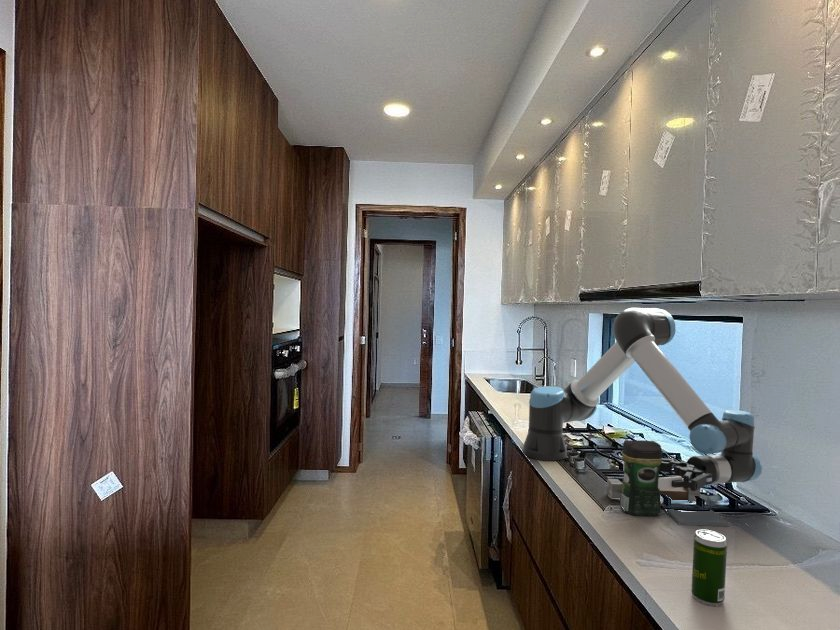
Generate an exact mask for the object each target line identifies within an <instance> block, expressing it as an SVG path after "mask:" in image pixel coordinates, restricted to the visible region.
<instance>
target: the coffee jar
mask: <svg viewBox="0 0 840 630" xmlns="http://www.w3.org/2000/svg"><path fill="white" fill-rule="evenodd" d="M662 451H663V450H662V446H661V444H660V443H658V442H657V441H655V440H637V439H636V440H633V439H632V440H629V439H627V440H626V439H625V440H624V441H623V445H622V451H621V456H622V459H623V463H624V471H623V478H622V491H621V498H620V500H619V505H621V506H622V507H623V508H624V510H625V511H626V513H628V514H629V515H634V516H647V517H648V516H658V515H660V514H661V511H662V508H661V502H660V490H659V489H658V478H660V471H659V468H660V464H661V462H662V458H663V452H662ZM621 506H620V507H621ZM624 510H623V511H624ZM625 511H624V512H625Z"/></svg>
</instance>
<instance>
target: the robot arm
mask: <svg viewBox="0 0 840 630" xmlns="http://www.w3.org/2000/svg"><path fill="white" fill-rule="evenodd" d="M612 324H613V325H612V332H613V336H614V339H615V342H614V343H613V344H612V346H611V347H609V348H608V350H607V351H606V352H605V353H604V354H603V355H602V356H601V357H600V358H599V359H598V360H597V361H596V362H595V363H594V364H593V366H592V367H590V369H589V370H587V371H586V373H585V374H584V375H583V376H582V377H581V378H579V379H574V380H572V381H571V382H570V383H569V384H568V385H567V386H566V387H565V388H564V389H563V388H562V387H559V386H553V385H552V386H551V385H549V386H540V387H536V388H534V389H532V390H531V391H530V396H529V397H530V398H529V402H528V403H529V406H528V407H529V409H528V432H527V435H526V436H525V440H524V443H523V446H522V454H523V455H524V456H526V457H528V458H531V459H534V460H541V461H550V462H551V461H553V462H554V461H561V460H565V459H566V458H567V457H566V456H568V451H567V450H568V449H567V445H566V442H565V439H564V434H563V428H564V424H566V423H571V422H581V421H585V420H587V419H590V418H591V417H593V416H594V414H595V413H596V412H597V409H598V408H597V405H598V404H599V402H600V396H601V395H602V394H603V393H604V392H605V391H606V390H607V389H608V388H609V387H610V386H611V385H612V384H613V383H614V382H615V381H616V380H617V379H619V378H620V376H622V375H623V374H624V373H625V372H626V371H627V370H628V369H629V368H630V367H631V366H632V365H633V364H634V363H636V364H637V365H638V367H639V368H640V369H641V370H642V372H643V373H644V374H645V375H646V377H647V378H648V380H649V381H650V382H651V383H652V385H653V386H654V387H655V388H656V389H657V391H658V392H659V393H660V394H661V397H663V398H664V399H665V402H667V404H668V405H669V406H670V407H671V409H672V410H673V411H674V412H675V414H676V415H677V416H678V418H679V419H680V420H681V421H682V423H683V424H684V425H685V427H686V428H687V429H688V430H689V435H688V437H689V441H690V444H691V446H692V448H693V449H694V450H696V451H697V452H699V453H701V454H705V455H694V456H691V457H689V458H688V459H687V461H677V459H676V458H663V457H662V462H661V464H660V468H659V472H665V473H668V474H669V475H671V476H662V477H660V476H659V478H658V489H671V488H682V487H683V488H685V489H688V488H691V490H692V491H696V490H698V489H700V490H701V489H703V488H704V487H705V486H708V485H713V486H717V485H718V484H727V483H729V484H730V483H746V482H752V481H754V480H757V479H759V478H760V476H761V474H762V472H763V471H762V470H763V468H762V467H763V466H762V464H761V461H760V459H759V458H758V456H756V455H755V454H754V453H753V449H754V436H755V435H754V434H755V429H756V428H755V427H756V426H755V416H754V415H753V414H752V413H751V412H748V411H744V410H739V409H726V410H724V411H723V413H722V417H721V420H719V419H718V418H717V417H716V415H715V414H714V413H713V412H712V411H711V409H710V408H709V407H708V406H707V404H706V403H704V400H702V399H701V398H700V396H699V395H698V394H697V392H696V391H695V390H694V389H693V387H692V386H691V385H690V384H689V382H687V381H686V379H685V378H684V376H683V375H682V374H681V373H680V372H679V370H678V369H677V368H676V367H675V366H674V365H673V363H672V362H671V361H670V359H669V358H668V357H667V356H666V355H665V354H664V352H663V351H662V350H661V349H660V347H659V346H664V345H666V344H668V343H670V342H671V341H673V339H674V338H675V334H676V322H675V319H674V318H673V316H672V315H671V314H670V313H669V312H668V311H667V310H665V309H661V308H657V307H651V308H649V307H647V308H646V307H645V308H643V307H642V308H641V307H630V308H627V309H626V308H625V309H624V310H623V311H620V312H619V314H617V315H616V317H615V318H614V321H613V323H612ZM718 453H720V454H718ZM622 466H623V467H622V468H623V469H622V471H623V472H624V462H623V465H622Z"/></svg>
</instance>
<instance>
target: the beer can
mask: <svg viewBox="0 0 840 630" xmlns="http://www.w3.org/2000/svg"><path fill="white" fill-rule="evenodd" d="M727 550H728V542H727V538H726V536H725V535H723V534H722V533H720V532H717V531H714V530H709V529H697V530H696V531H695V535H694V536H693V551H692V552H693V553H692V554H693V555H692V556H693V557H692V573H691V590H690V591H691V594H692V597H693V598H694V599H695V601H697V602H698V601H699V603H700V602H701V604H702V603H703V605H705V604H706V605H705V606H709V605H711V606H710V607H717V606H716V605H720V606H721V605H722V604H723V602H724V600H725V590H726V575H727V574H726V573H727V571H726V570H727V552H728V551H727Z"/></svg>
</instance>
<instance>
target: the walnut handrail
mask: <svg viewBox="0 0 840 630" xmlns="http://www.w3.org/2000/svg"><path fill="white" fill-rule="evenodd" d="M606 482H607V483H606V495H607V494H608V495H609V496H610V497H611V498H621V491H622V484H623V482H622V481H620V479H618V478H607V480H606ZM659 490H660V495H662V494H664V495H667V496H668V497H670V498H671V499H672V500H688V501H694V500H695V496H699V497H700V498H701V488H700V489H698V490H696V491H692V490H691V488H688V489H685V488H683V487H682V488H671V489H659ZM608 495H607V496H608Z"/></svg>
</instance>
